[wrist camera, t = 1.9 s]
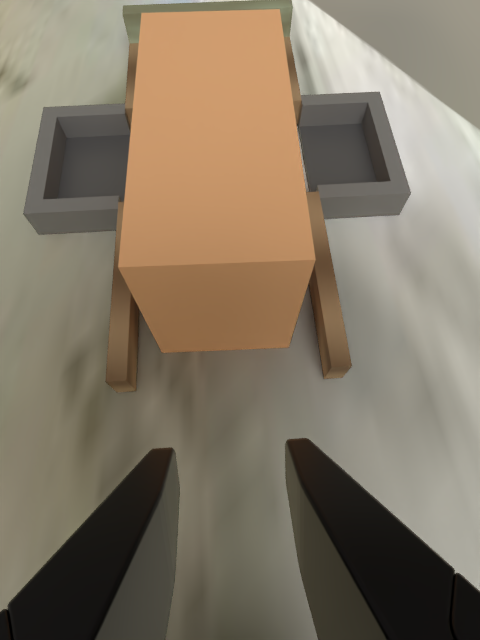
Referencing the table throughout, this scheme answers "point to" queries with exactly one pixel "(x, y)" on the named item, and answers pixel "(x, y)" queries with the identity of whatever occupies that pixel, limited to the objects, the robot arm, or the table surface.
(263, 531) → the table surface
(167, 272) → the orange tan rectangular block
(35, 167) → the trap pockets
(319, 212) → the small wooden bench
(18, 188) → the table surface
